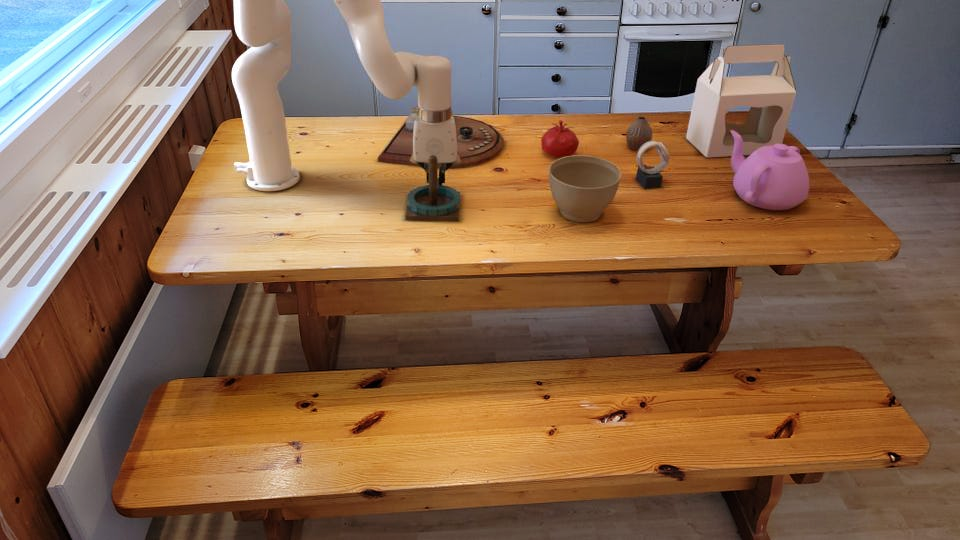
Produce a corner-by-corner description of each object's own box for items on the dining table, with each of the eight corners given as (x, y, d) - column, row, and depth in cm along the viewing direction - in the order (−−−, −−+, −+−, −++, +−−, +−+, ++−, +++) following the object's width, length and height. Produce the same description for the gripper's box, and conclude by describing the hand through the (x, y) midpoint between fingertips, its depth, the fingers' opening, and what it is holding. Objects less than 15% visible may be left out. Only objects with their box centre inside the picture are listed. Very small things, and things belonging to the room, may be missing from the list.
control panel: (410, 100, 207) (512, 110, 202) (411, 116, 210) (511, 127, 205) (376, 143, 182) (492, 155, 177) (378, 161, 185) (491, 174, 180)
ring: (405, 215, 159) (404, 209, 159) (411, 183, 172) (410, 177, 172) (459, 216, 160) (459, 210, 159) (461, 184, 173) (461, 178, 172)
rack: (405, 220, 160) (403, 166, 153) (409, 194, 170) (408, 143, 163) (458, 221, 160) (459, 168, 153) (460, 195, 170) (460, 145, 163)
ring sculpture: (668, 187, 177) (676, 146, 171) (637, 189, 175) (644, 148, 169) (658, 176, 181) (666, 136, 175) (629, 179, 180) (635, 138, 174)
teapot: (739, 167, 187) (752, 117, 179) (820, 196, 175) (837, 144, 167) (695, 193, 174) (706, 141, 166) (779, 227, 162) (795, 172, 154)
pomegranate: (558, 165, 185) (561, 132, 180) (532, 152, 192) (535, 119, 187) (585, 155, 191) (589, 123, 185) (559, 143, 197) (562, 111, 192)
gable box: (756, 134, 206) (781, 36, 190) (780, 153, 195) (809, 51, 179) (684, 138, 202) (704, 38, 186) (705, 158, 191) (728, 54, 176)
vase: (653, 146, 197) (659, 116, 192) (644, 155, 192) (649, 124, 187) (630, 140, 200) (635, 111, 195) (620, 149, 195) (625, 118, 190)
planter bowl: (531, 208, 166) (534, 166, 160) (581, 190, 174) (585, 149, 168) (579, 238, 155) (584, 194, 149) (629, 217, 164) (636, 174, 158)
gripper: (398, 118, 158) (401, 192, 168) (469, 119, 158) (468, 193, 168) (401, 106, 164) (404, 177, 174) (469, 107, 164) (468, 179, 174)
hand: (435, 185), depth 171 cm, fingers closed on ring, 1 cm apart
